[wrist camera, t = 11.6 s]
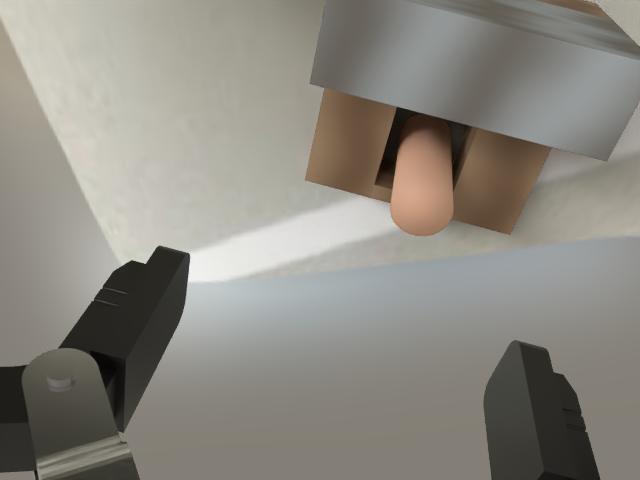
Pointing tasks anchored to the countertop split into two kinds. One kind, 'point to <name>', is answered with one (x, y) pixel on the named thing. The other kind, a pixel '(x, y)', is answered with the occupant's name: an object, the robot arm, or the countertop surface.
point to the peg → (423, 177)
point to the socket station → (470, 92)
